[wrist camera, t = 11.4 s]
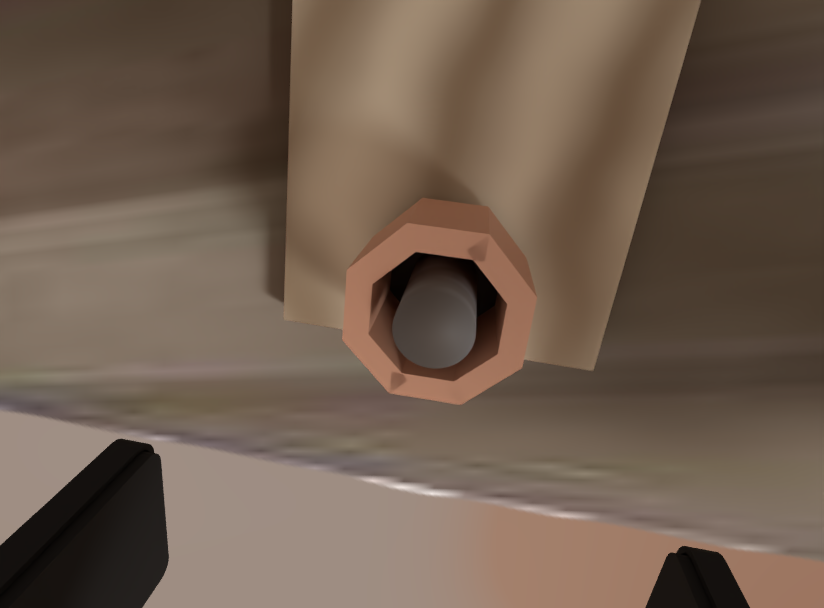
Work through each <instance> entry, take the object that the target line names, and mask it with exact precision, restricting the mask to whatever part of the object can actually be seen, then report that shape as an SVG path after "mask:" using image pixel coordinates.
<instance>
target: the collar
mask: <svg viewBox="0 0 824 608" xmlns="http://www.w3.org/2000/svg"><path fill="white" fill-rule="evenodd" d="M415 252H420V253H427V254H434V255H441V256H448V257H455V258H462V259H470V260H474V261H475V263H476V264H477V265H478V267H479V268H480V269H481V271H482V272H483V273H484V274H485V276H486V277H487V278H488V280H489V281H490V282H491V284H492V285H493V286H494V287H495V289H496V290H497V297H496V302H495V306H494V307H492V308H491V309H489V310H487V311H486V312H484V313H483V314H481V315H480V316H478V317H477V318H476V337H475V342H474V345H473V347H472V349H471V350H470V352H469V353H468V355H467V356H466V357H465V358H464V359H462V360H461V361H460V362H458V363H456V364H454V365H452V366H449V367H445V368H439V369H433V368H426V367H422V366H419V365H417V364H415V363H413V362H411V361H410V360H408V359H407V358H406V357H405V356H404V355H403V354H402V353H401V352H400V350H399V349H398V347H397V346H396V344H395V341H394V338H393V333H392V324H393V319H394V316H395V314H396V311H397V309H398V306H399V304H400V302H399V301H398V299H397V298H396V297H395V296H394V295H393V293H392V292H391V291H390V282H391V272H392V269H394V268H395V267H396V266H398V265H399V264H400V263H402V262H403V261H404V260H406V259H407V258H408V257H410V256H411V255H412V254H414V253H415ZM536 301H537V295H536V291H535V287H534V284H533V280H532V276H531V273H530V269H529V265H528V261H527V258H526V257H525V255H524V254H523V253H522V251H521V250H520V248H519V247H518V246H517V244H516V243H515V242H514V240H513V239H512V238H511V236H510V235H509V234H508V232H507V231H506V230H505V228H504V227H503V226H502V224H501V223H500V222H499V220H498V219H497V218H496V216H495V215H494V213H493V212H492V211H491V209H490V208H489V207H488V206H481V205H473V204H466V203H458V202H451V201H443V200H436V199H428V198H422V199H420V200H419V201H418V202H417V203H415V204H414V205H413V206H411V207H410V208H409V209H408V210H406V211H405V212H404V213H403V214H401V215H400V216H399V217H397V218H396V219H395V220H394V221H392V222H391V223H390V224H389V225H387V226H386V227H385V228H383V229H382V230H381V231H380V232H378V233H377V234H376V235H374V236H373V237H372V239H371V240H370V241H369V242H368V244H367V245H366V246H365V247H364V249H363V250H362V251H361V252H360V254H359V255H358V256H357V258H356V259H355V260H354V261H353V263H352V264H351V265H350V266H349V268H348V269H347V274H346V290H345V305H344V321H343V337H342V340H343V341H344V342H345V344H346V345H347V346H348V347H349V348H350V349H351V350H352V352H353V353H354V354H355V355H356V356H357V357H358V358H359V359H360V361H361V362H362V363H363V364H364V365H365V366H366V367H367V369H368V370H369V371H370V372H371V373H372V374H373V375H374V377H375V378H376V379H377V380H378V381H379V382H380V383H381V384H382V386H383V387H384V388H385V389H386V390H387V391H388V392H389V393H391V394H397V395H403V396H409V397H415V398H422V399H428V400H434V401H440V402H446V403H452V404H458V405H461V404H463V403H465V402H466V401H468V400H470V399H471V398H473V397H475V396H476V395H478V394H480V393H481V392H483V391H485V390H486V389H488V388H490V387H491V386H493V385H495V384H496V383H498V382H500V381H501V380H503V379H505V378H506V377H508V376H510V375H511V374H513V373H515V372H516V371H518V370H520V369H521V368H522V366H523V361H524V357H525V352H526V348H527V343H528V338H529V334H530V329H531V324H532V320H533V315H534V311H535V306H536Z"/></svg>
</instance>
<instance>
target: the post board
mask: <svg viewBox="0 0 824 608" xmlns="http://www.w3.org/2000/svg"><path fill="white" fill-rule="evenodd" d="M700 3H701V0H293V3H292V38H291V74H290V109H289V145H288V180H287V215H286V251H285V286H284V320H289V321H295V322H301V323H307V324H313V325H319V326H325V327H331V328H337V329H343V321H344V305H345V290H346V274H347V269H348V268H349V266H350V265H351V264H352V263H353V261H354V260H355V259H356V258H357V256H358V255H359V254H360V252H361V251H362V250H363V249H364V247H365V246H366V245H367V244H368V242H369V241H370V240H371V239H372V237H373V236H374V235H376V234H377V233H378V232H380V231H381V230H382V229H383V228H385V227H386V226H387V225H389V224H390V223H391V222H392V221H394V220H395V219H396V218H397V217H399V216H400V215H401V214H403V213H404V212H405V211H406V210H408V209H409V208H410V207H411V206H413V205H414V204H415V203H417V202H418V201H419V200H420V199H422V198H428V199H436V200H443V201H451V202H458V203H466V204H473V205H481V206H488V207H489V208H490V209H491V211H492V212H493V213H494V215H495V216H496V218H497V219H498V220H499V222H500V223H501V224H502V226H503V227H504V228H505V230H506V231H507V232H508V234H509V235H510V236H511V238H512V239H513V240H514V242H515V243H516V244H517V246H518V247H519V248H520V250H521V251H522V253H523V254H524V255H525V257H526V258H527V261H528V265H529V269H530V273H531V276H532V280H533V284H534V287H535V291H536V295H537V301H536V306H535V311H534V315H533V320H532V324H531V329H530V334H529V338H528V343H527V348H526V352H525V357H524V360H529V361H536V362H542V363H548V364H554V365H560V366H566V367H572V368H578V369H584V370H590V371H593V370H594V367H595V364H596V360H597V357H598V353H599V350H600V346H601V343H602V339H603V336H604V333H605V329H606V326H607V322H608V319H609V315H610V312H611V309H612V305H613V302H614V298H615V295H616V291H617V288H618V284H619V281H620V278H621V274H622V271H623V267H624V264H625V260H626V257H627V254H628V250H629V247H630V243H631V240H632V236H633V233H634V229H635V226H636V223H637V219H638V216H639V212H640V209H641V205H642V202H643V199H644V195H645V192H646V188H647V185H648V181H649V178H650V174H651V171H652V168H653V164H654V161H655V157H656V154H657V150H658V147H659V144H660V140H661V137H662V133H663V130H664V126H665V123H666V120H667V116H668V113H669V109H670V106H671V102H672V99H673V95H674V92H675V89H676V85H677V82H678V78H679V75H680V71H681V68H682V65H683V61H684V58H685V54H686V51H687V47H688V44H689V40H690V37H691V34H692V30H693V27H694V23H695V20H696V16H697V13H698V10H699V6H700ZM390 291H391V292H392V293H393V295H394V296H395V297H396V298H397V299H398V301H399V302H400V304H399V306H398V309H397V311H396V314H395V316H394V319H393V324H392V333H393V338H394V341H395V344H396V346H397V347H398V349H399V350H400V352H401V353H402V354H403V355H404V356H405V357H406V358H407V359H408V360H410V361H411V362H413V363H415V364H417V365H419V366H422V367H426V368H433V369H439V368H445V367H449V366H452V365H454V364H456V363H458V362H460V361H461V360H462V359H464V358H465V357H466V356H467V355H468V353H469V352H470V350H471V349H472V347H473V345H474V342H475V337H476V318H477V317H478V316H480V315H481V314H483V313H484V312H486V311H487V310H489V309H491V308H492V307H494V306H495V302H496V297H497V290H496V289H495V287H494V286H493V285H492V284H491V282H490V281H489V280H488V278H487V277H486V276H485V274H484V273H483V272H482V271H481V269H480V268H479V267H478V265H477V264H476V263H475V261H474V260H470V259H462V258H455V257H448V256H441V255H434V254H427V253H420V252H415V253H414V254H412V255H411V256H410V257H408V258H407V259H406V260H404V261H403V262H402V263H400V264H399V265H398V266H396V267H395V268H394V269H392V272H391V282H390Z"/></svg>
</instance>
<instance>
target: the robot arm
mask: <svg viewBox="0 0 824 608" xmlns="http://www.w3.org/2000/svg"><path fill="white" fill-rule="evenodd" d="M167 543H168V542H167V530H166V517H165V506H164V493H163V481H162V468H161V459H160V456H159V455H158V454H155V453H154V449H153V447H152V446H151V445H150V444H146V443H141V442H136V441H130V440H125V439H118V440H116V441H114V442H113V443H112V444H110V445H109V446H108V447H107V448H106V449H105V450H104V451H103V452H102V453H101V454H100V455H99V456H98V457H96V458H95V459H94V460H93V461H92V462H91V463H90V464H89V465H88V466H87V467H85V468H84V470H82V471H81V472H80V473H79V474H78V475H77V476H76V477H75V478H73V479H72V480H71V481H70V482H69V483H68V484H67V485H66V486H65V487H64V488H63V489H62V490H60V491H59V492H58V493H57V494H56V495H55V496H54V497H53V498H52V499H51V500H50V501H49V502H48V503H46V504H45V505H44V506H43V507H42V508H41V509H40V510H39V511H38V512H37V513H35V514H34V515H33V516H32V517H31V518H30V519H29V520H28V521H27V522H25V523H24V524H23V525H22V526H21V527H20V528H19V529H18V530H17V531H16V532H15V533H13V534H12V535H11V536H10V537H9V538H8V539H7V540H6V541H5V542H4V543H3V544H2V545H0V608H142V607H143V606H144V604H145V603H146V601H147V600H148V598H149V597H150V595H151V594H152V592H153V591H154V589H155V588H156V586H157V585H158V583H159V582H160V580H161V579H162V577H163V575H164V573H165V571H166V568H167V565H168V559H169V554H168V544H167ZM646 608H750V607H749V605H748V603H747V601H746V599H745V597H744V595H743V593H742V592H741V590H740V588H739V586H738V584H737V582H736V580H735V578H734V576H733V575H732V572H731V570H730V568H729V566H728V565H727V563H726V561H725V559H724V558H723V556H722V555H721V554H719V553H718V552H713V551H708V550H703V549H698V548H692V547H687V546H682V547H680V548H679V550H678V551H677V553H669V554H668V556H667V557H666V560H665V562H664V564H663V567H662V569H661V572H660V574H659V576H658V579H657V581H656V584H655V586H654V588H653V591H652V593H651V596H650V598H649V600H648V603H647V605H646Z"/></svg>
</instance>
